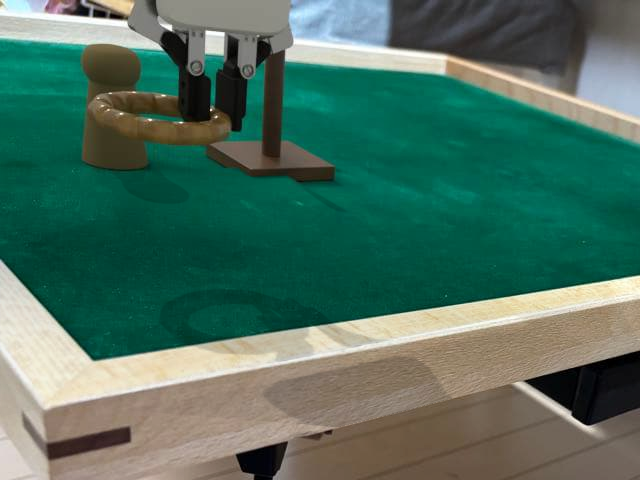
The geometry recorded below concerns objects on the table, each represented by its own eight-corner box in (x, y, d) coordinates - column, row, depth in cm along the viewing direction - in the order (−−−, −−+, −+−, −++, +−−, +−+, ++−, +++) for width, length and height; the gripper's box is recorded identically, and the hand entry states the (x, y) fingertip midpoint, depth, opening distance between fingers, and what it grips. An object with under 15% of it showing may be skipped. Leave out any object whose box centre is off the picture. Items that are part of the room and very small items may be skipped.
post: (250, 183, 90) (254, 56, 84) (205, 155, 96) (206, 33, 90) (334, 179, 97) (343, 61, 91) (287, 153, 103) (293, 40, 97)
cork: (154, 157, 92) (152, 46, 86) (140, 173, 86) (137, 56, 81) (91, 148, 90) (85, 35, 85) (73, 163, 85) (66, 44, 80)
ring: (122, 148, 59) (121, 124, 58) (68, 108, 64) (67, 86, 64) (254, 148, 65) (255, 127, 65) (195, 112, 71) (196, 92, 70)
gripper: (297, -130, 66) (280, 116, 75) (75, -186, 56) (84, 109, 64) (353, -117, 62) (327, 142, 71) (124, -175, 51) (126, 140, 60)
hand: (211, 124), depth 67 cm, fingers closed on ring, 2 cm apart
